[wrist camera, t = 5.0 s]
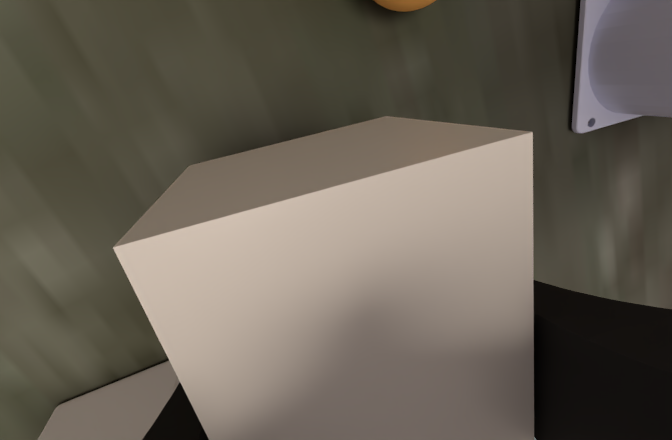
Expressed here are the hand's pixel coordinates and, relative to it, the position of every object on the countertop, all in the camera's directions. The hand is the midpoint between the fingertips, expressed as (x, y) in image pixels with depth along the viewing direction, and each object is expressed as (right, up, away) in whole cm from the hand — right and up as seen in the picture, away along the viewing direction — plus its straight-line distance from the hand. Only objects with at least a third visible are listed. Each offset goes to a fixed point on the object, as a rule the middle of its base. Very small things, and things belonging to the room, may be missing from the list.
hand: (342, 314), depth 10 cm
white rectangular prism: (-1, +1, +2) cm, 2 cm away
